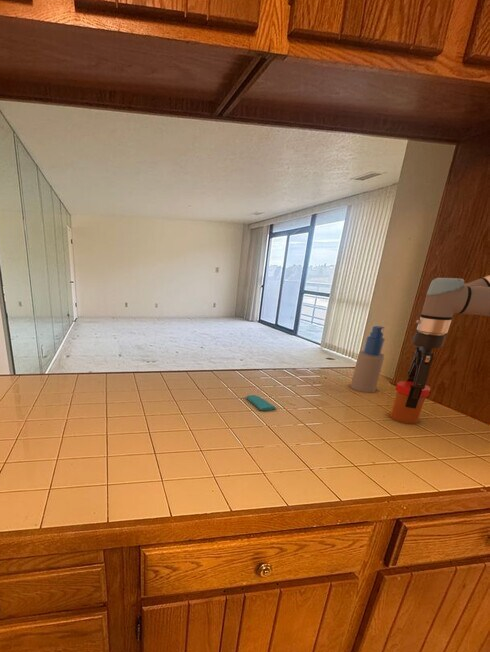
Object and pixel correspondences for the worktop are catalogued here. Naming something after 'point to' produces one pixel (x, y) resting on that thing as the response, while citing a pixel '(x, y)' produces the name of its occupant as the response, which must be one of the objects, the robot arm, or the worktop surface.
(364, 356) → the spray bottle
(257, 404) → the sponge
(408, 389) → the lid
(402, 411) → the jar
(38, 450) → the worktop surface
